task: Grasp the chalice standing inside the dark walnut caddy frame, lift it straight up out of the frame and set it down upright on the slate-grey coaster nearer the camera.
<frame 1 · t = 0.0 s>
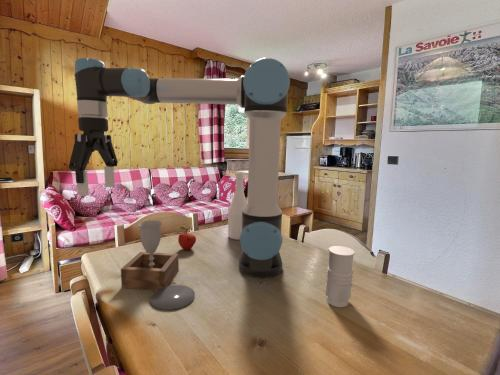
hand: (97, 190, 85), 28 cm above the table, fingers open, 13 cm apart
coaster: (172, 297, 80), on the table
caddy: (152, 278, 90), on the table
wine bottle: (238, 237, 131), on the table
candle: (337, 301, 80), on the table
apple: (186, 250, 115), on the table
chalice: (152, 279, 90), resting in caddy
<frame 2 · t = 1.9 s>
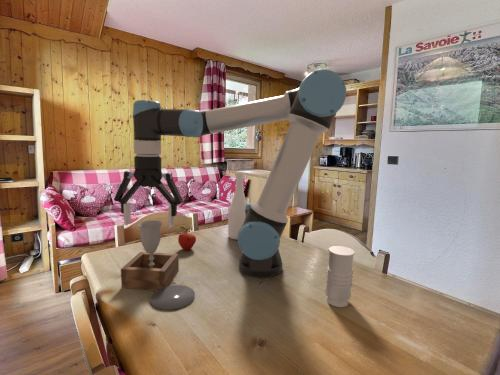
hand: (149, 225, 87), 18 cm above the table, fingers open, 13 cm apart
nothing on the table moved.
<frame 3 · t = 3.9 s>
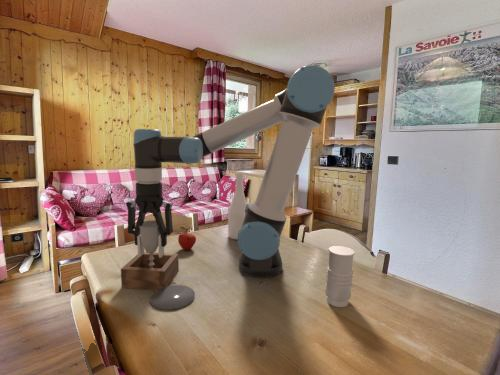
hand: (151, 255, 89), 8 cm above the table, fingers closed on chalice, 6 cm apart
chalice: (152, 279, 90), resting in caddy, touching gripper
everything else where it was.
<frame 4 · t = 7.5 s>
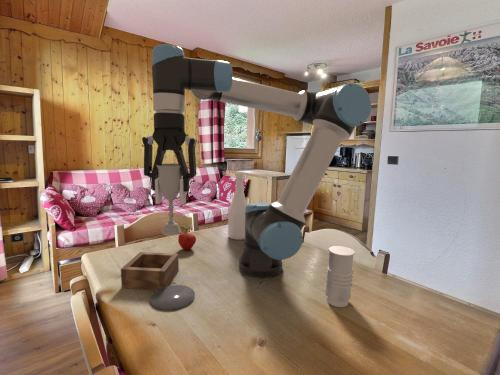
hand: (171, 203, 75), 27 cm above the table, fingers closed on chalice, 6 cm apart
chalice: (171, 232, 77), point 19 cm above the table, touching gripper
everything else where it was.
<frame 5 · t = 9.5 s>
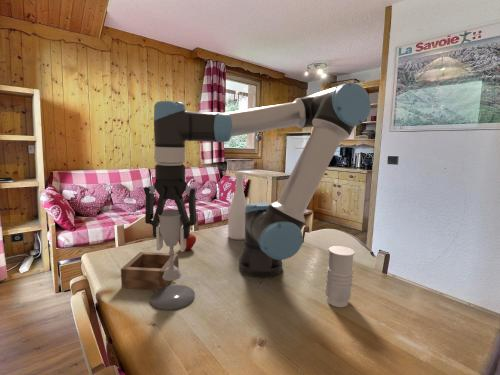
hand: (171, 249, 77), 14 cm above the table, fingers closed on chalice, 6 cm apart
chalice: (172, 276, 79), point 6 cm above the table, touching gripper
everything else where it was.
when the fingers open (10 cm above the table, at t = 11.2 s): chalice drops 1 cm, resting on coaster.
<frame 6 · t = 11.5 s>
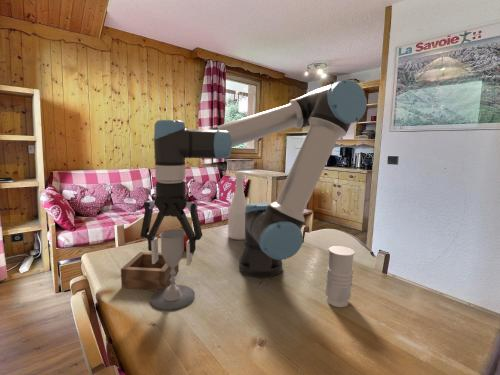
hand: (172, 262, 78), 10 cm above the table, fingers open, 9 cm apart
chalice: (172, 296, 80), resting on coaster
everything else where it was.
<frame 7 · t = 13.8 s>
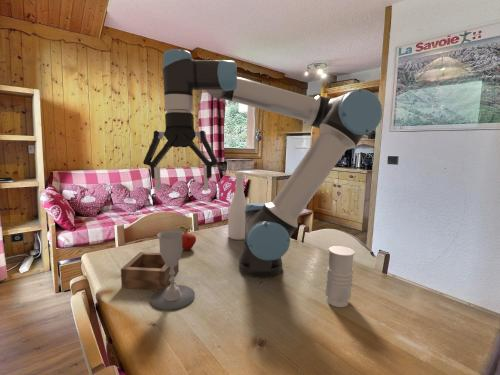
hand: (182, 189, 81), 30 cm above the table, fingers open, 13 cm apart
nothing on the table moved.
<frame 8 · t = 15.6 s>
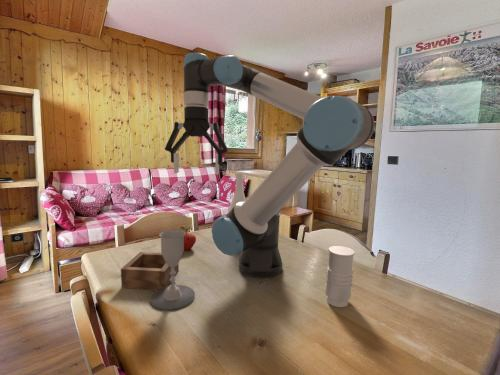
hand: (196, 173, 94), 33 cm above the table, fingers open, 13 cm apart
nothing on the table moved.
at the end: chalice 0.0 cm from the coaster (horizontally); chalice tilted 1°; chalice inside the target area on the table beside the caddy (13.5 cm from its centre), resting on coaster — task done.
